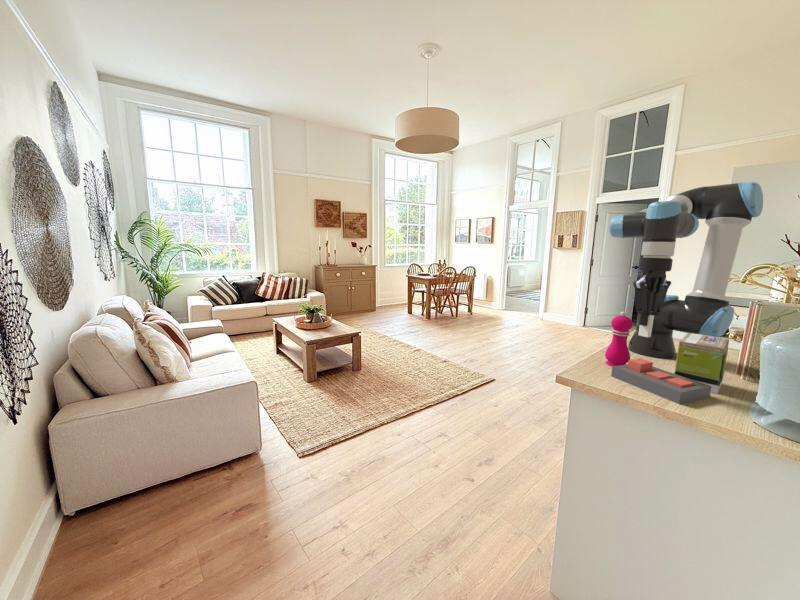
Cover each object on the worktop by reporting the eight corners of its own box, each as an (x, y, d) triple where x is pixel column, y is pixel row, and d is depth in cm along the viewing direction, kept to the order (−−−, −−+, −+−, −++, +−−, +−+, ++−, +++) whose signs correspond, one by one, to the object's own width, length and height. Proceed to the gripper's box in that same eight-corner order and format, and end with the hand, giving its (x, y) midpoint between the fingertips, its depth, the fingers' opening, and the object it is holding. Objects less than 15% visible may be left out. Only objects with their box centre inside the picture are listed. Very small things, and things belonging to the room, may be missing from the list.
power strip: (619, 368, 114) (621, 355, 113) (708, 401, 90) (711, 386, 89) (592, 372, 109) (594, 359, 109) (678, 408, 86) (680, 392, 85)
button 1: (638, 369, 104) (640, 358, 103) (651, 373, 100) (653, 362, 100) (626, 371, 102) (628, 359, 102) (639, 375, 99) (641, 364, 98)
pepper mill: (632, 373, 109) (640, 314, 106) (608, 371, 111) (616, 313, 108) (622, 365, 116) (630, 310, 113) (600, 363, 118) (607, 308, 114)
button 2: (656, 382, 99) (657, 370, 98) (669, 387, 96) (671, 375, 95) (644, 384, 97) (645, 372, 97) (657, 389, 94) (659, 377, 93)
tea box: (680, 374, 109) (688, 331, 107) (722, 384, 102) (731, 338, 99) (671, 386, 99) (679, 339, 97) (716, 398, 92) (726, 348, 89)
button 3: (676, 389, 94) (678, 377, 93) (691, 395, 90) (694, 382, 90) (664, 392, 92) (666, 379, 92) (679, 398, 89) (681, 385, 88)
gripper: (657, 256, 101) (646, 331, 105) (627, 256, 96) (617, 334, 100) (685, 257, 94) (672, 337, 98) (654, 257, 90) (642, 341, 93)
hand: (644, 335), depth 99 cm, fingers closed
